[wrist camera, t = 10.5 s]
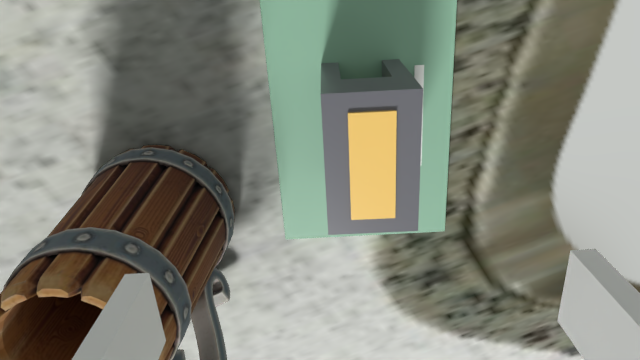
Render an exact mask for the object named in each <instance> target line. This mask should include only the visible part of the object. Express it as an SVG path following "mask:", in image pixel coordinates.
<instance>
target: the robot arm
mask: <svg viewBox="0 0 640 360" xmlns="http://www.w3.org/2000/svg"><path fill="white" fill-rule="evenodd" d="M558 322H559V324H560V325H561V327H562V328H563V330H564V331H565V332H566V334H567V335H568V337H569V338H570V340H571V341H572V343H573V344H574V346H575V347H576V349H577V350H578V351H579V353H580V354H581V356H582V357H583V359H584V360H640V293H639V292H638V291H637V290H636V289H635V288H634V287H633V286H632V285H631V284H630V283H629V282H628V281H627V280H626V279H625V278H624V277H623V276H622V275H621V274H620V273H619V272H618V271H617V270H616V269H615V268H614V267H613V266H612V265H611V264H610V263H609V262H608V261H607V260H606V259H605V258H604V257H603V256H602V255H601V254H600V253H599V252H598V251H597V250H596V249H587V250H571V251H570V257H569V262H568V267H567V273H566V278H565V283H564V289H563V294H562V299H561V305H560V310H559V315H558ZM165 342H166V338H165V334H164V330H163V326H162V322H161V318H160V314H159V310H158V306H157V302H156V298H155V294H154V290H153V286H152V282H151V278H150V274H149V273H138V274H125V275H124V277H123V278H122V280H121V281H120V283H119V285H118V286H117V288H116V289H115V291H114V293H113V294H112V296H111V297H110V299H109V301H108V302H107V304H106V305H105V307H104V309H103V310H102V312H101V313H100V315H99V317H98V318H97V320H96V321H95V323H94V325H93V326H92V328H91V329H90V331H89V333H88V334H87V336H86V337H85V339H84V341H83V342H82V344H81V345H80V347H79V349H78V350H77V352H76V353H75V355H74V357H73V358H72V360H158V359H159V357H160V354H161V352H162V350H163V347H164V345H165Z"/></svg>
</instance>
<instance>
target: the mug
mask: <svg viewBox="0 0 640 360" xmlns="http://www.w3.org/2000/svg"><path fill="white" fill-rule="evenodd" d="M228 192H229V189H228V188H227V186H226V184H225V182H224V181H223V179H222V178H221V177H220V176H219V174H218V173H217V172H216V171H215V170H214V169H211V168H209V167H208V166H207V164H206V162H205V161H203V160H202V159H200V158H199V157H197V156H195V155H194V154H191V153H189V152H187V151H184V150H178V151H176V150H175V149H173V148H172V147H170V146H162V145H148V146H143V147H142V148H141V149H130V150H128V151H125V152H123V153H121V154H120V155H117V156H115V157H114V158H112V159H111V160H110V161H109V162H107V163H106V164H105V165H104V166H102V167H101V168H100V169H99V170H98V172H97V173H96V174H95V175H94V176H93V178H92V179H91V180H90V182H89V183H88V185H87V186H86V188H85V189H84V191H83V193H82V195H81V197H80V198H79V199H78V200H77V202H76V203H75V204H74V205H73V207H72V208H71V209H70V210H69V211H68V213H67V214H66V215H65V216H64V217H63V219H62V220H61V221H60V222H59V223H58V225H57V226H56V227H55V228H54V230H53V231H52V232H51V233H50V234H49V236H48V237H47V238H45V239H44V240H43V241H42V242H40V243H39V244H38V245H36V246H35V247H34V248H33V249H32V250H31V251H30V252H29V253H28V254H27V256H26V257H25V258H24V259H23V260H22V261H21V263H20V264H19V265H18V266H17V267H16V269H15V270H14V271H13V273H12V274H11V276H10V277H9V279H8V281H7V282H6V284H5V285H4V289H3V291H2V292H1V294H0V360H72V358H73V357H74V355H75V353H76V352H77V350H78V349H79V347H80V345H81V344H82V342H83V341H84V339H85V337H86V336H87V334H88V333H89V331H90V329H91V328H92V326H93V325H94V323H95V321H96V320H97V318H98V317H99V315H100V313H101V312H102V310H103V309H104V307H105V305H106V304H107V302H108V301H109V299H110V297H111V296H112V294H113V293H114V291H115V289H116V288H117V286H118V285H119V283H120V281H121V280H122V278H123V277H124V275H125V274H138V273H149V274H150V278H151V282H152V286H153V290H154V294H155V298H156V302H157V306H158V310H159V314H160V318H161V322H162V326H163V330H164V334H165V338H166V342H165V345H164V347H163V350H162V352H161V354H160V357H159V359H158V360H185V354H184V350H180V349H179V350H177V349H178V347H179V345H180V343H181V341H182V339H183V337H184V335H185V333H186V330H187V328H188V325H189V323H190V320H191V319H192V323H193V327H194V331H195V335H196V339H197V344H198V349H199V356H200V360H227V355H226V349H225V343H224V338H223V334H222V330H221V326H220V322H219V318H218V315H217V311H216V307H217V306H219V305H221V304H223V303H226V302H228V301H229V299H230V289H229V285H228V283H227V281H226V279H225V277H224V275H223V274H222V273H221V272H220V271H219V270H218V269H216V268H215V267H216V266H217V265H218V263H219V262H220V261H221V259H222V257H223V255H224V253H225V251H226V249H227V247H228V244H229V242H230V240H231V237H232V235H233V228H234V217H235V211H234V205H233V200H232V199H231V198H230V197H229V196H228Z"/></svg>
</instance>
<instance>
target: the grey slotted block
mask: <svg viewBox="0 0 640 360" xmlns="http://www.w3.org/2000/svg"><path fill="white" fill-rule="evenodd" d="M320 94H321V112H322V131H323V149H324V167H325V185H326V203H327V221H328V235H339V234H361V233H384V232H407V231H418V220H419V192H420V164H421V136H422V108H423V88H422V87H421V85H420V84H419V83H418V82H417V80H416V79H415V78H414V77H413V76H412V74H411V73H410V72H409V71H408V69H407V68H406V67H405V66H404V65H403V63H402V62H401V61H400V60H399V59H392V60H382V77H376V78H358V79H341V77H340V71H339V64H338V62H336V63H321V93H320Z"/></svg>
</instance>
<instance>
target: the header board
mask: <svg viewBox="0 0 640 360" xmlns="http://www.w3.org/2000/svg"><path fill="white" fill-rule="evenodd" d="M260 8H261V17H262V26H263V35H264V44H265V54H266V63H267V72H268V81H269V90H270V100H271V109H272V118H273V127H274V137H275V146H276V155H277V164H278V173H279V183H280V192H281V201H282V210H283V219H284V229H285V238H286V239H302V238H322V237H341V236H361V235H380V234H400V233H419V232H438V231H445V217H446V198H447V179H448V160H449V141H450V122H451V103H452V84H453V65H454V46H455V27H456V8H457V0H260ZM392 59H399V60H400V61H401V62H402V63H403V65H404V66H405V67H406V68H407V69H408V71H409V72H410V73H411V74H412V76H413V77H414V78H415V79H416V80H417V82H418V83H419V84H420V85H421V87H422V88H423V108H422V136H421V164H420V192H419V220H418V231H407V232H384V233H361V234H339V235H328V221H327V203H326V185H325V167H324V149H323V131H322V112H321V94H320V93H321V63H336V62H338V64H339V71H340V77H341V79H358V78H376V77H382V60H392Z"/></svg>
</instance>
